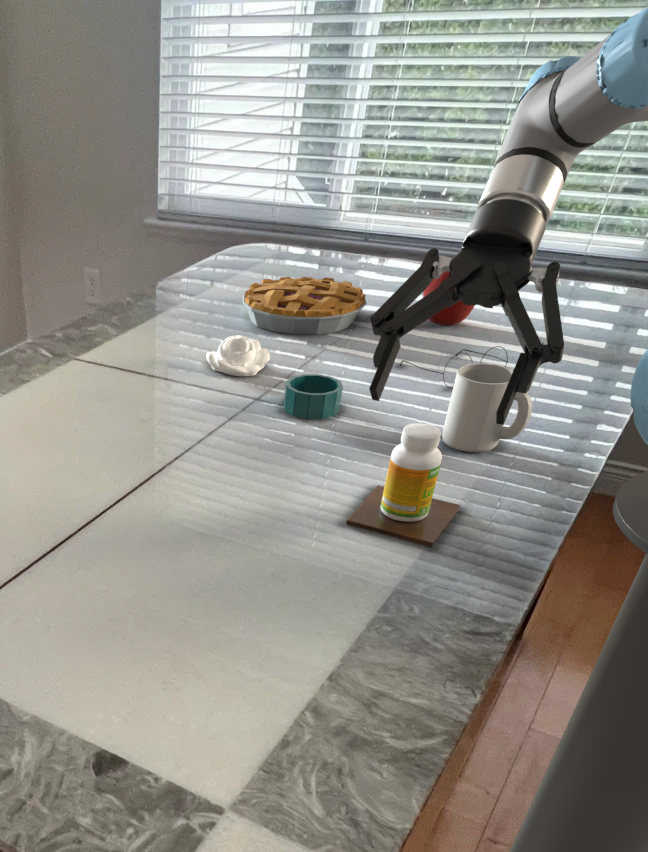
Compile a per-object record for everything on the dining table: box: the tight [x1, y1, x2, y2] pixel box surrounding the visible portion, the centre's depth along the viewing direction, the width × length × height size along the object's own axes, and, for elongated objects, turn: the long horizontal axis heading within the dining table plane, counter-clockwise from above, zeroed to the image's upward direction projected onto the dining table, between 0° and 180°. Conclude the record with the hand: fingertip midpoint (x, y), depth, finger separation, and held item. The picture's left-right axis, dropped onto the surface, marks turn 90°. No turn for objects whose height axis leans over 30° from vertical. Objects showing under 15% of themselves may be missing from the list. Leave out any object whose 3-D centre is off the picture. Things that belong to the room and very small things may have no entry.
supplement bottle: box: [381, 422, 443, 522], centre depth 94 cm, size 5×5×10 cm
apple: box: [422, 271, 476, 326], centre depth 144 cm, size 10×10×10 cm
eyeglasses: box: [399, 345, 509, 390], centre depth 128 cm, size 11×13×5 cm
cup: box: [441, 362, 533, 453], centre depth 108 cm, size 7×10×9 cm
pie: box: [242, 276, 367, 335], centre depth 150 cm, size 22×22×5 cm
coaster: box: [345, 484, 461, 548], centre depth 97 cm, size 10×10×1 cm
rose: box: [206, 334, 271, 377], centre depth 133 cm, size 10×4×10 cm
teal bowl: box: [282, 373, 344, 420], centre depth 120 cm, size 8×8×4 cm
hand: (434, 406), depth 91 cm, fingers open, 13 cm apart
